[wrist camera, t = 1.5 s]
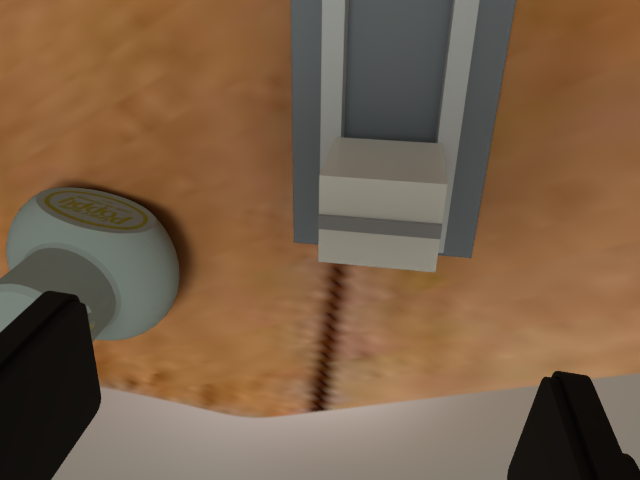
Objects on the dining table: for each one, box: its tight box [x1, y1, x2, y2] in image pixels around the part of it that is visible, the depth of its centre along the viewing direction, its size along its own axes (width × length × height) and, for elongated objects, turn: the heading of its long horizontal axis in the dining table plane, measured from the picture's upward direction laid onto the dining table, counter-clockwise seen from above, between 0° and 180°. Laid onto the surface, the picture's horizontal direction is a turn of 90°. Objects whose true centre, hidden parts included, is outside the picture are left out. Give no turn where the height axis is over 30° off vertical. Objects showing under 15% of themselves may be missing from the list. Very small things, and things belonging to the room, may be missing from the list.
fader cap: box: [318, 137, 448, 272], centre depth 24 cm, size 5×4×7 cm
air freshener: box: [0, 187, 180, 342], centre depth 32 cm, size 11×8×10 cm
